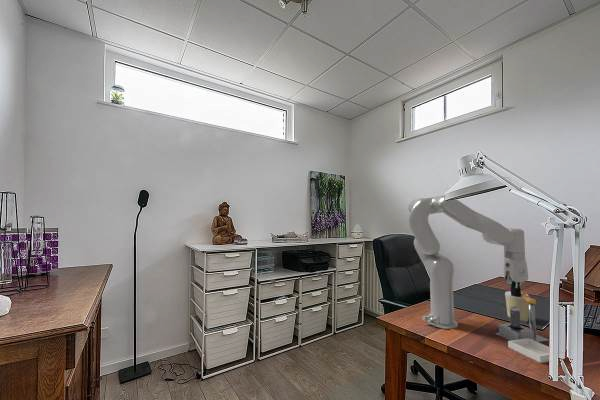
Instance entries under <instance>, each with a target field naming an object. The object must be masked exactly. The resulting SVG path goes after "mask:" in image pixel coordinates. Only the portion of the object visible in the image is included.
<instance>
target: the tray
mask: <svg viewBox="0 0 600 400" xmlns="http://www.w3.org/2000/svg"><path fill="white" fill-rule="evenodd" d="M507 345H508V346H507V347H508V348H509V349H511V350H513V351H515V352H517V353H518V354H520V355H523V356H525V357H527V358H529V359H532V360H533V361H535V362H537V363H538V364H544V363H549V347H550V346H548V345H546V344H543V343H541V342H536V341H534V340H532V339H529V338H525V339H519V340H512V341H510V340H508V341H507Z"/></svg>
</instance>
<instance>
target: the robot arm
mask: <svg viewBox="0 0 600 400" xmlns="http://www.w3.org/2000/svg"><path fill="white" fill-rule="evenodd" d="M455 199H456V200H449V201H446V200H445V194H444V195H439V196H431V197H426V198H424V197H423V198H416V199H412V200H411V201H410V202H409V204H408V211H409V216H408V225H409V228H410V231H411V233H412V235H413V237H414V240H413V246H414V249H415V251H416V253H417V255H418V256H419V259H420V260H421V262H422V264H423V266H424V267H425V268H426V269H427V270H428V271H429V272H431V273H430V280H429V292H430V295H429V297H430V312H428V315H422V317H421V319H422V320H423V321H427V322H428V324H429V325H431V326H433V327H436V328H440V329H444V330H450V329H455V328H458V327H459V323H458V321H456V320H455V313H454V311H455V310H454V309H455V308H454V285H453V284H454V275H455V268H454V267H455V266H454V263H453V262H452V261H451V259H450V258H448V257H447V256H445V255H441V253H440V251H441V244H440V241H439V240H438V237H437V236H436V235H435V233H434V231H433V229H432V228H431V226H430V223H429V217H430V215H434V214H445V215H446V216H447V217H449V218H451V219H452V220H454V221H455V222H456V223H458V224H460V226H463V227H465V228H468V229H471V230H474V231H477V232H479V233H481V236H482V239H483V240H484V241H485V242H486V243H489V244H491V245H498V246H502V247H503V259H504V261H503V279H504V280H505V284H508V285H509V287H510V291H511V295H512V296H515V297H521V292H522V290H521V289H522V284H523V283H525V282H526V281H528V280H529V271H528V270H529V269H528V264H527V259H526V245H525V241H526V240H525V231H524V230H523V229H521V228H508V227H505V226H504V225H503V224H501V223H499V222H498V221H497V220H496V221H495V220H494V219H493V218H490V217H488V216H485V215H484V214H481V213H479V212H477V211H475V210H474V209H472V208H471V207H469V206H468V205H466V204H464V203H463V202H461V201H460V200H458V199H457V198H455Z"/></svg>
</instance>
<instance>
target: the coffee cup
mask: <svg viewBox="0 0 600 400" xmlns="http://www.w3.org/2000/svg"><path fill="white" fill-rule="evenodd" d="M523 293H524V294H526V295H527V296H529V295H528V294H527V293H525V292H523ZM504 297H505V303H506V304H505V305H506V313H507V317H509V318H510V306H514V307H518V308H520V322H524V323H526V322H529V308H528V303H527V300H525V299H524V298H523V297H515V296H512V295H511V290H510V291H509V290H508V291H505V293H504Z"/></svg>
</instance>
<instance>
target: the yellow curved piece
mask: <svg viewBox="0 0 600 400" xmlns="http://www.w3.org/2000/svg"><path fill="white" fill-rule="evenodd" d="M524 293H525V292H523V291H521V297H523V298H524V299H525V300H527V303H530V304H535V305H536V304H537V300H536V299H535V298H531V297H530V296H529V295H528V294H527V293H525V294H524ZM526 294H527V295H528V296H527V295H526Z"/></svg>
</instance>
